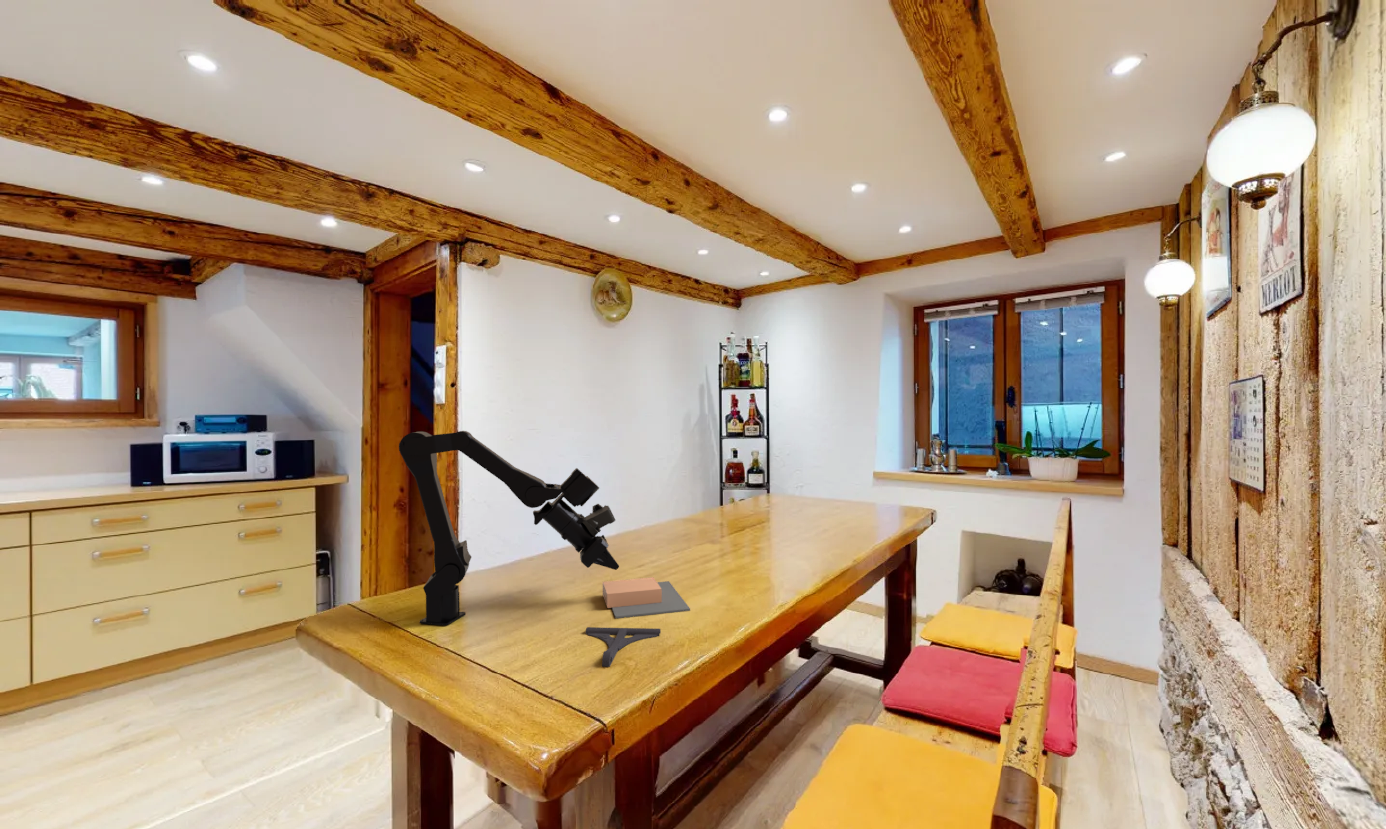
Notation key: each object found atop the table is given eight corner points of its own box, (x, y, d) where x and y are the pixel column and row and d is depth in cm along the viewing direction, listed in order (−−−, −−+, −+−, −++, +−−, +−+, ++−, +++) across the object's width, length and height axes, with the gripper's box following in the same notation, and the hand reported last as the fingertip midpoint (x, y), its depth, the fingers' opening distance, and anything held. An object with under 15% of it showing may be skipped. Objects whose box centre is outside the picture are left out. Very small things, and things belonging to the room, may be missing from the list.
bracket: (563, 670, 94) (563, 653, 94) (587, 634, 109) (587, 620, 108) (648, 673, 93) (648, 656, 93) (660, 636, 107) (660, 622, 107)
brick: (607, 594, 120) (661, 588, 123) (602, 581, 128) (653, 577, 132) (607, 608, 120) (661, 602, 123) (602, 594, 128) (653, 589, 132)
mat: (615, 618, 115) (615, 616, 115) (604, 588, 134) (604, 587, 134) (690, 610, 119) (690, 608, 119) (668, 582, 138) (668, 581, 138)
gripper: (597, 501, 114) (650, 550, 117) (589, 489, 132) (635, 532, 135) (558, 542, 112) (613, 591, 115) (555, 524, 130) (603, 567, 133)
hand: (617, 568), depth 125 cm, fingers closed
